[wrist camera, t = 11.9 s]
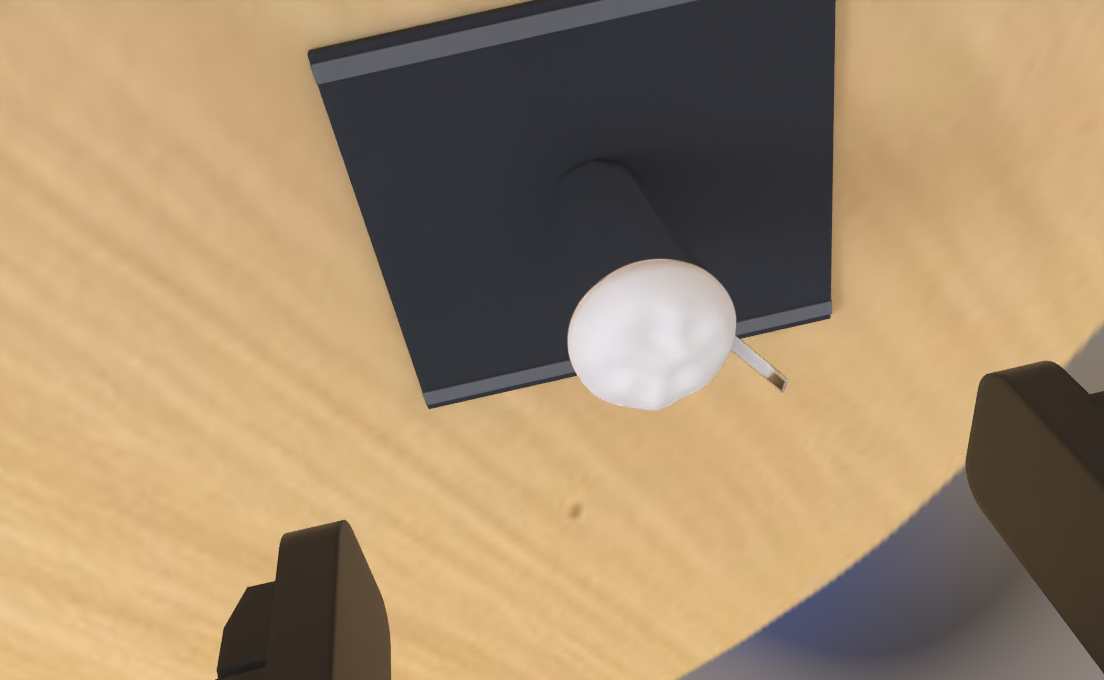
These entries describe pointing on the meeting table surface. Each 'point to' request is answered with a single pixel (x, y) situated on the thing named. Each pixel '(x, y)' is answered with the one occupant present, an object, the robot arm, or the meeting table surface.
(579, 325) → the milkshake
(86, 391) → the meeting table surface
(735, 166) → the desk pad
